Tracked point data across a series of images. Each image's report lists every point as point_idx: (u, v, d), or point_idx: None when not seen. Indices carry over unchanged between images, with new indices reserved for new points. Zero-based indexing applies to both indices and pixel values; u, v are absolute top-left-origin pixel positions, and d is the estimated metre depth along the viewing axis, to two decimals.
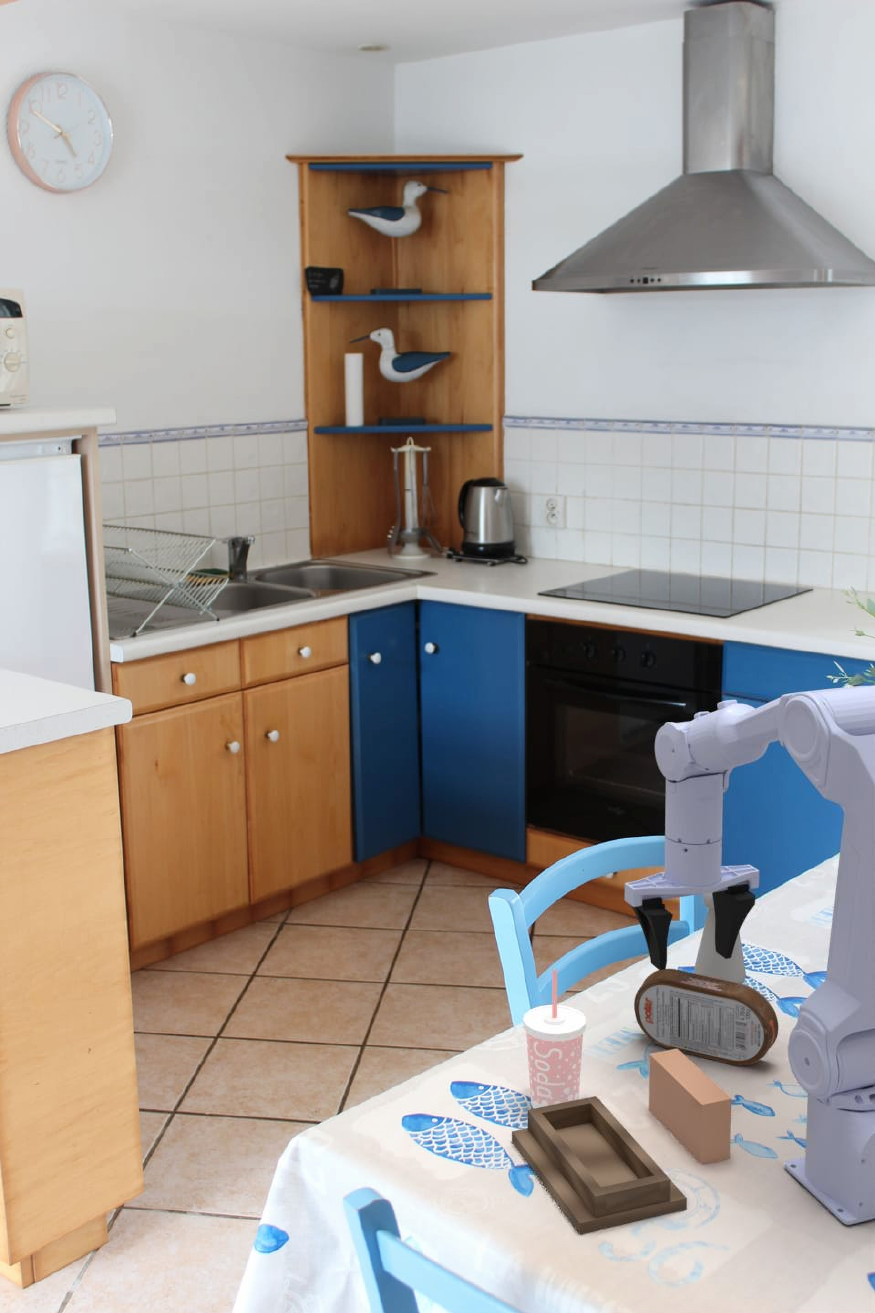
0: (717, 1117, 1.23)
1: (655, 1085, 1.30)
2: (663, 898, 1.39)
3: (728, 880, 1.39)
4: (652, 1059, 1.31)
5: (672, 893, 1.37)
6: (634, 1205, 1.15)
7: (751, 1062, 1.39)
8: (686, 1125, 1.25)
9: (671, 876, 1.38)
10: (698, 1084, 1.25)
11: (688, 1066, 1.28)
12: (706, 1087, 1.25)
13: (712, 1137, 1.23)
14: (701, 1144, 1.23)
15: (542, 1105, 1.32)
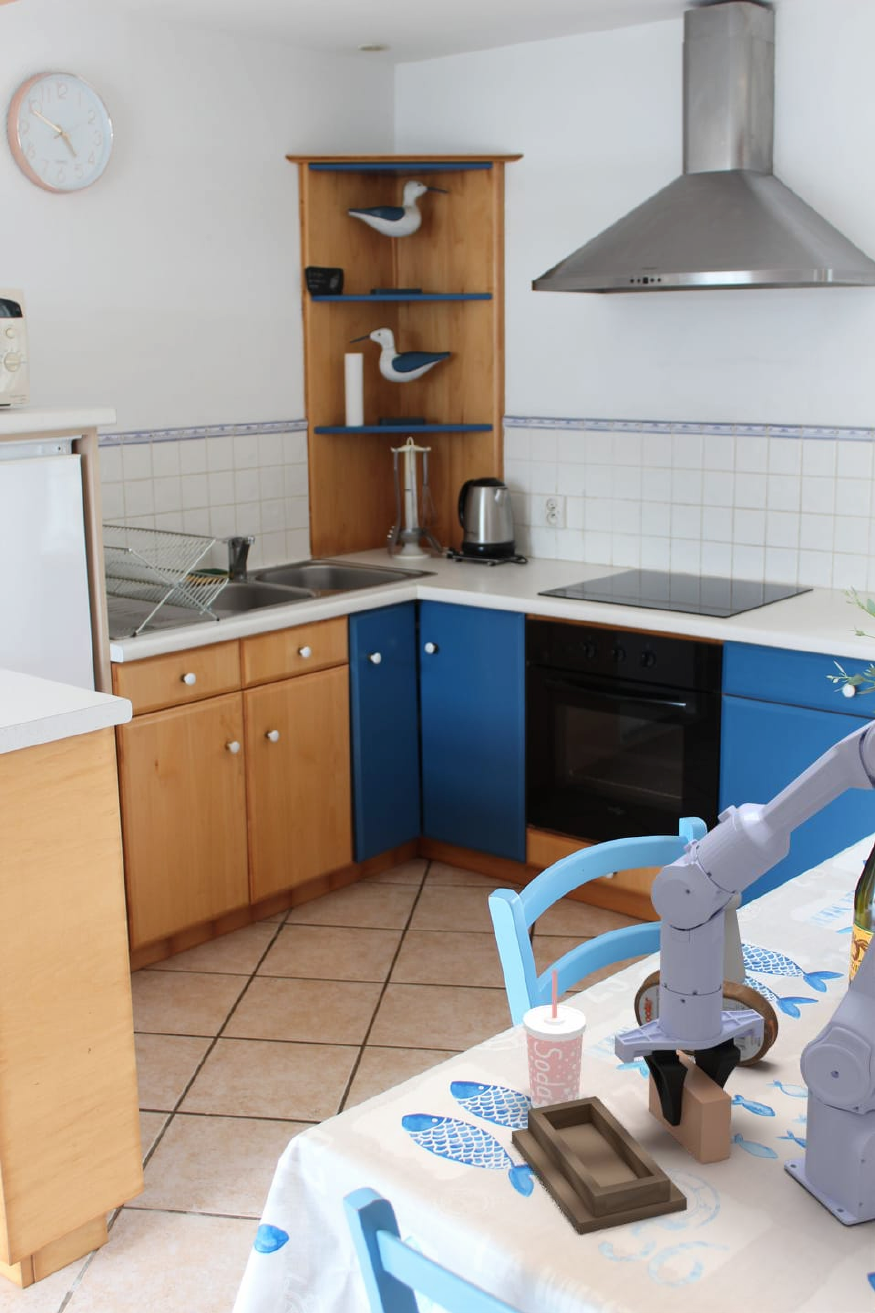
0: (717, 1115, 1.22)
1: None
2: None
3: (730, 1032, 1.25)
4: None
5: (667, 1048, 1.23)
6: (634, 1205, 1.15)
7: (751, 1062, 1.39)
8: (686, 1123, 1.25)
9: (667, 1028, 1.24)
10: (698, 1083, 1.25)
11: (688, 1065, 1.28)
12: (706, 1086, 1.25)
13: (712, 1136, 1.23)
14: (701, 1142, 1.22)
15: (542, 1105, 1.32)
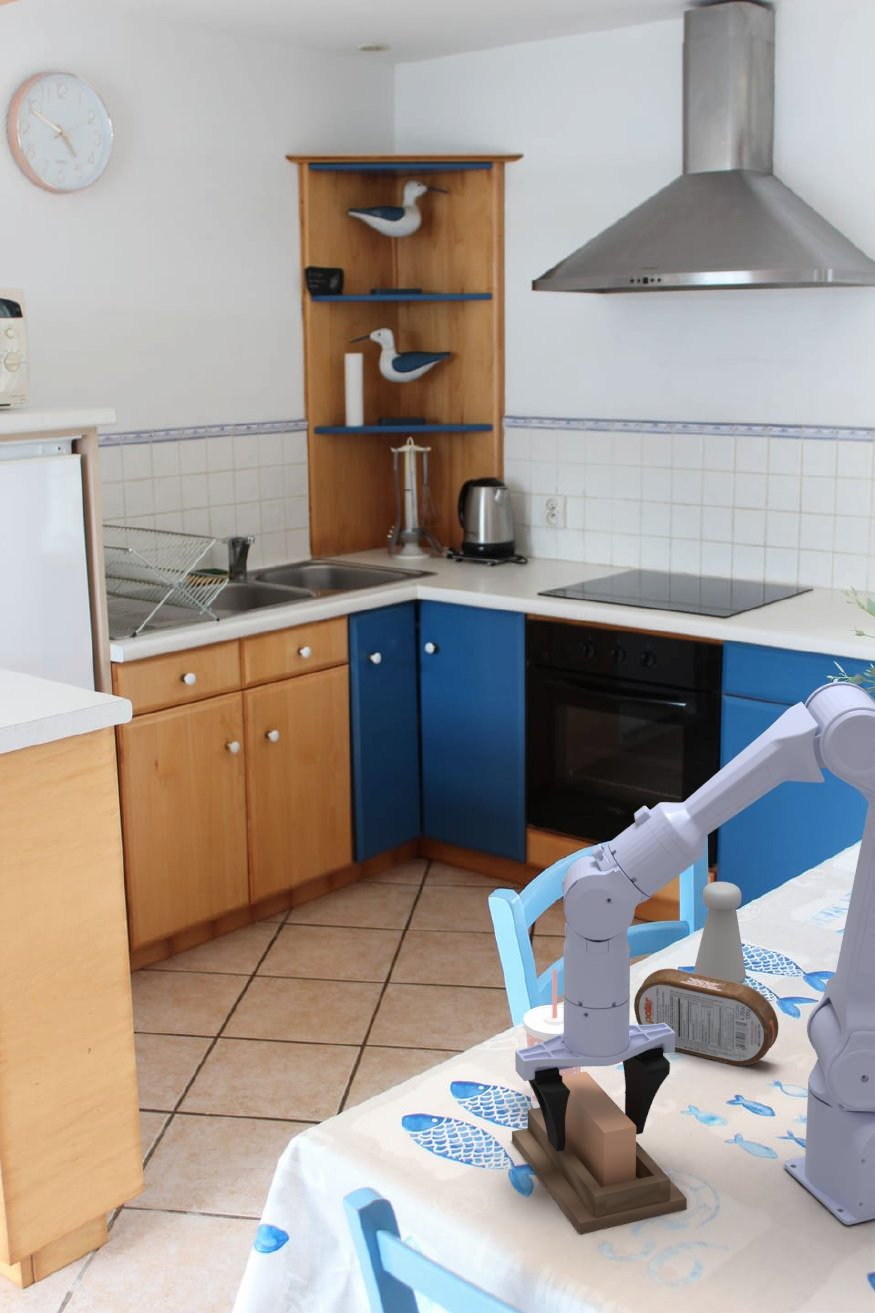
0: (621, 1145, 1.16)
1: None
2: (561, 1068, 1.18)
3: (637, 1047, 1.18)
4: None
5: (570, 1065, 1.16)
6: (634, 1205, 1.15)
7: (751, 1062, 1.39)
8: (590, 1153, 1.19)
9: (570, 1043, 1.18)
10: (602, 1111, 1.19)
11: (595, 1091, 1.22)
12: (611, 1113, 1.18)
13: (615, 1167, 1.16)
14: (603, 1173, 1.16)
15: None
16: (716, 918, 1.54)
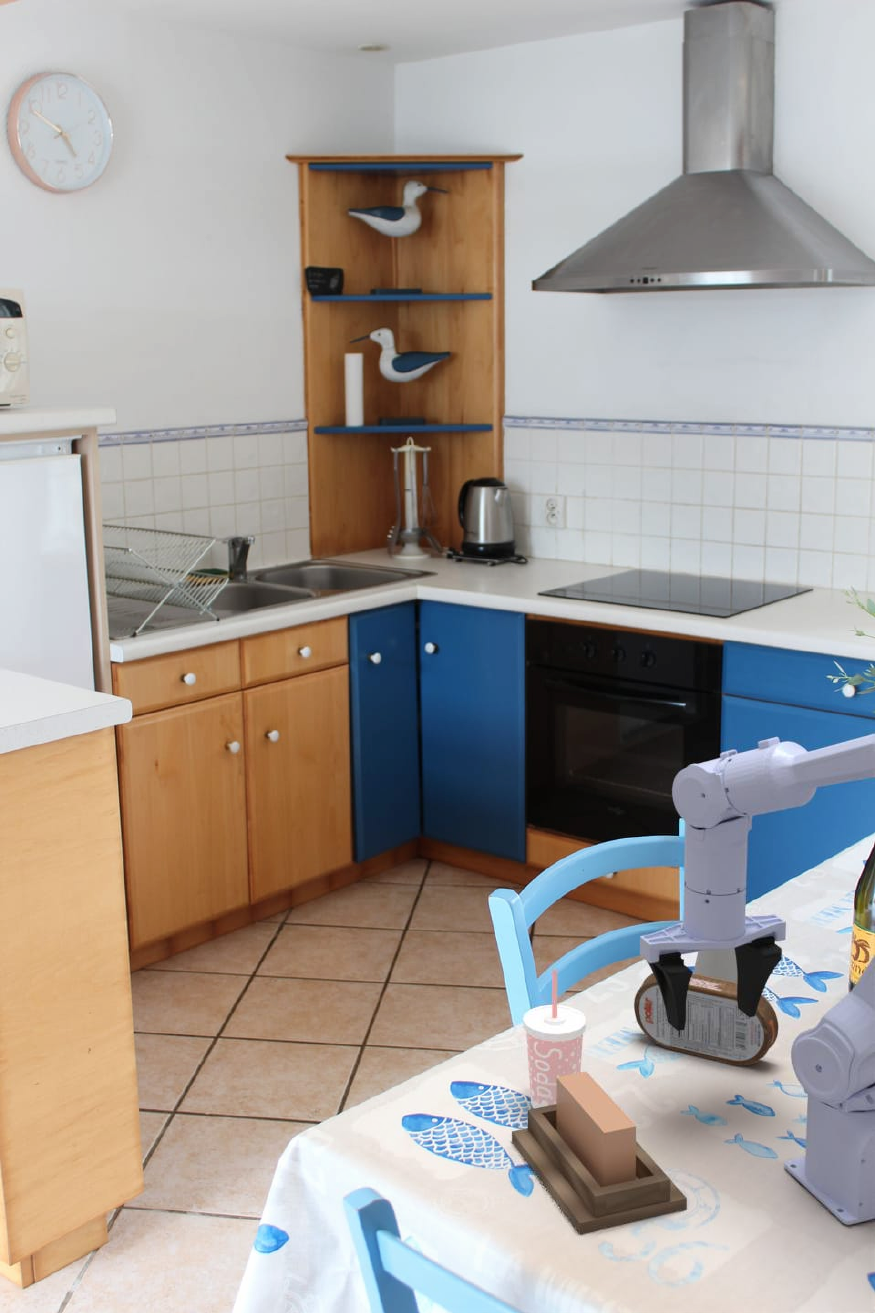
0: (621, 1145, 1.16)
1: (562, 1110, 1.24)
2: (682, 953, 1.27)
3: (753, 933, 1.27)
4: (558, 1083, 1.24)
5: (692, 948, 1.25)
6: (634, 1205, 1.15)
7: (751, 1062, 1.39)
8: (590, 1153, 1.19)
9: (691, 929, 1.27)
10: (602, 1111, 1.19)
11: (595, 1091, 1.22)
12: (611, 1113, 1.18)
13: (615, 1167, 1.16)
14: (603, 1173, 1.16)
15: (542, 1105, 1.32)
16: None
